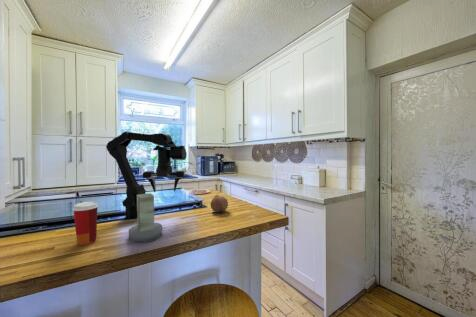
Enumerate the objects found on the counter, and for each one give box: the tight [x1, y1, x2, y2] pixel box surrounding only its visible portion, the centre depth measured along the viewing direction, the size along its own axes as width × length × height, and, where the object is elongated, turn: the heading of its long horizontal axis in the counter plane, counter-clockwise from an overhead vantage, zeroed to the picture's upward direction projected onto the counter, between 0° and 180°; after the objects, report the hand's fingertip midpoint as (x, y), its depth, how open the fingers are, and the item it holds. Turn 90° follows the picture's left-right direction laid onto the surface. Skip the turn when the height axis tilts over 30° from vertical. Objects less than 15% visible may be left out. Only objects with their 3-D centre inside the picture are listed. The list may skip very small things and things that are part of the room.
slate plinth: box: [128, 222, 163, 244], centre depth 82 cm, size 12×12×3 cm
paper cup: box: [71, 201, 99, 246], centre depth 76 cm, size 8×8×14 cm
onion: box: [210, 194, 229, 214], centre depth 112 cm, size 10×9×10 cm
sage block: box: [136, 192, 155, 231], centre depth 81 cm, size 5×5×13 cm
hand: (164, 191), depth 102 cm, fingers open, 9 cm apart
